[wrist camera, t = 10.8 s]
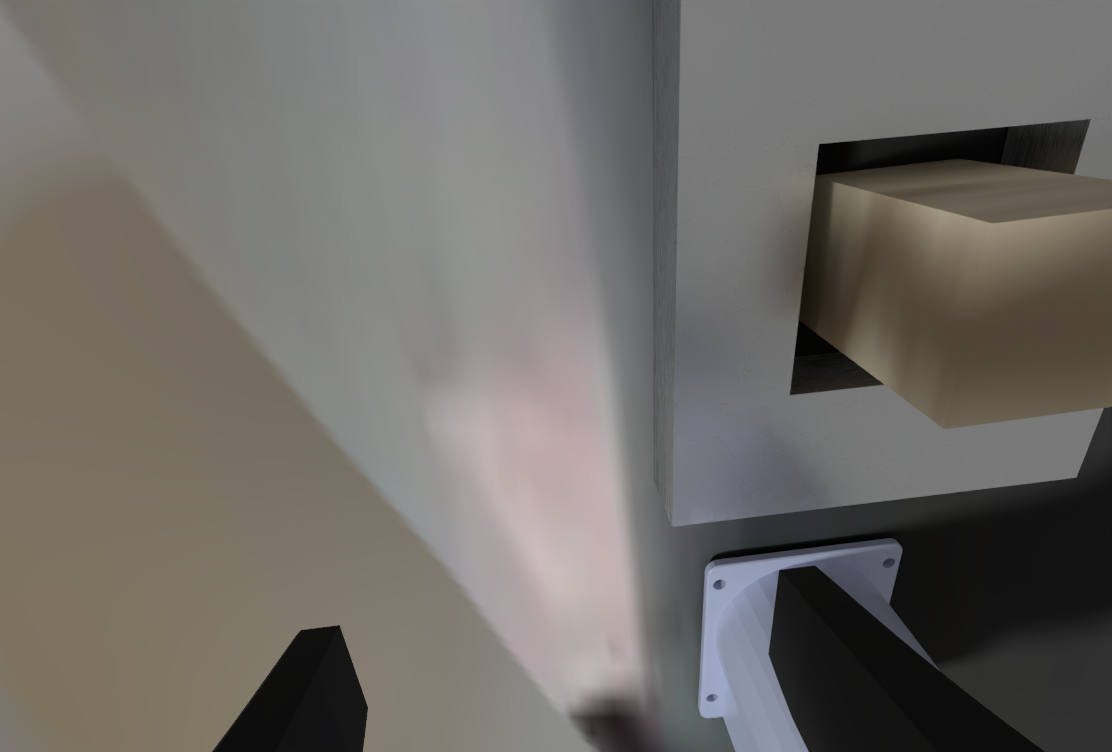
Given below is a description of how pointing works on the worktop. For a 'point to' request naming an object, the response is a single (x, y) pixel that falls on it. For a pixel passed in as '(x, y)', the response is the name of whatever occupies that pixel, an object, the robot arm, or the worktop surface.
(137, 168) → the worktop surface
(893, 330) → the birch block
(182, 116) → the worktop surface
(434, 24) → the worktop surface
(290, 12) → the worktop surface
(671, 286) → the socket plate
